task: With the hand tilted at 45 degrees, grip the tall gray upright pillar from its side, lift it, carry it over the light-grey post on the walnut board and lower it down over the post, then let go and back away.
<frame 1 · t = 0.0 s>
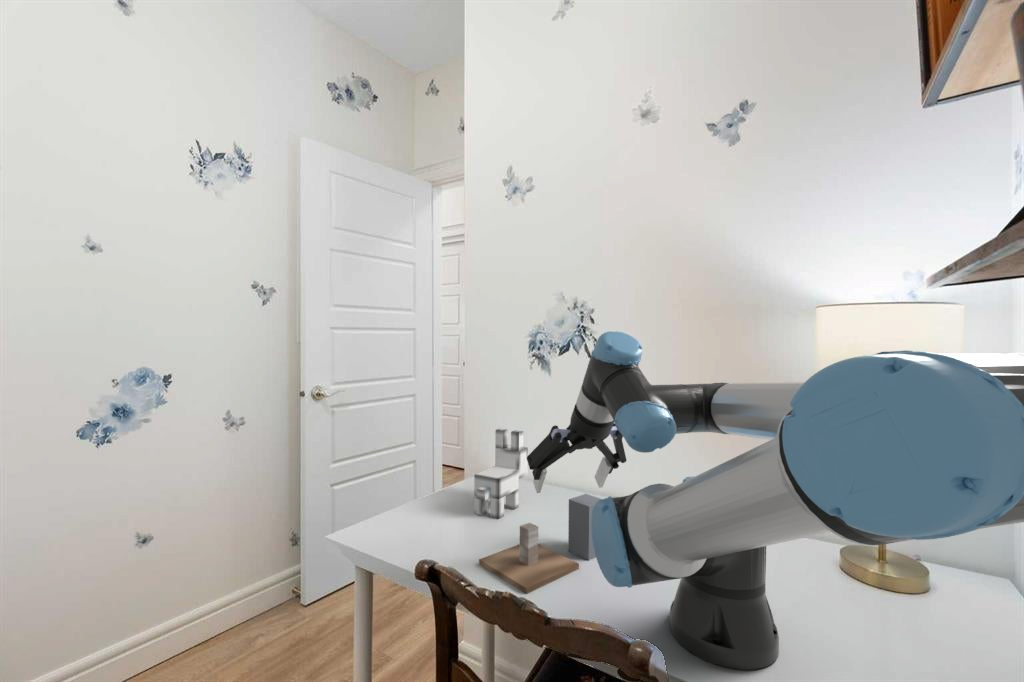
hand: (568, 484, 95), 15 cm above the table, tool tilted 35°, fingers open, 13 cm apart
gray upright pillar: (587, 551, 98), on the table
toy llama: (499, 509, 123), on the table
post: (528, 566, 91), on the table
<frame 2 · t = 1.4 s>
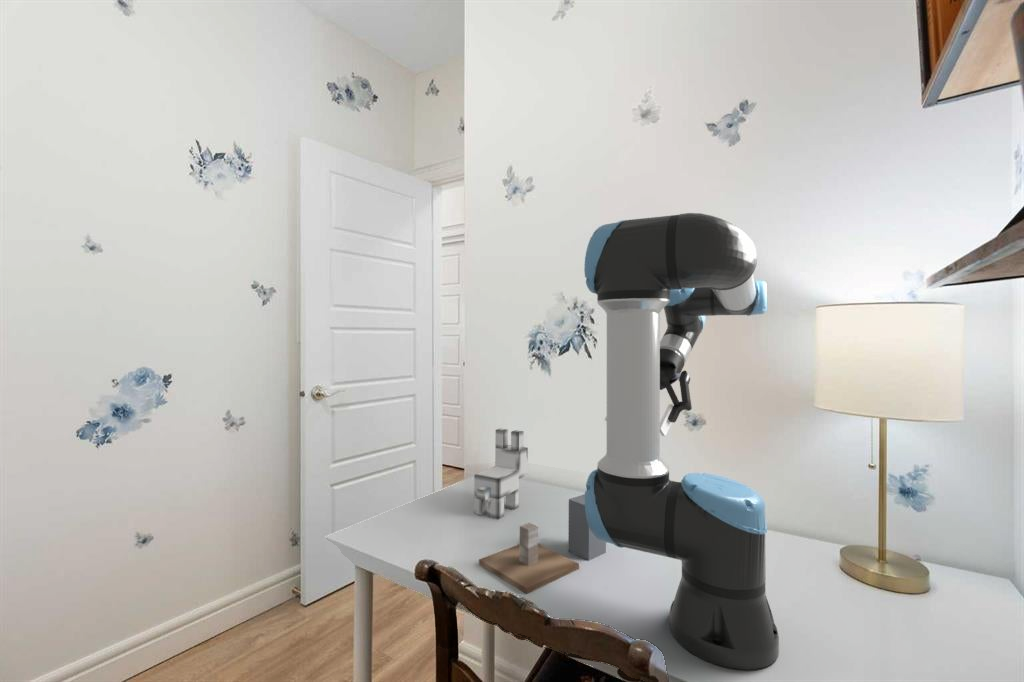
hand: (633, 427, 102), 26 cm above the table, tool tilted 45°, fingers open, 13 cm apart
nothing on the table moved.
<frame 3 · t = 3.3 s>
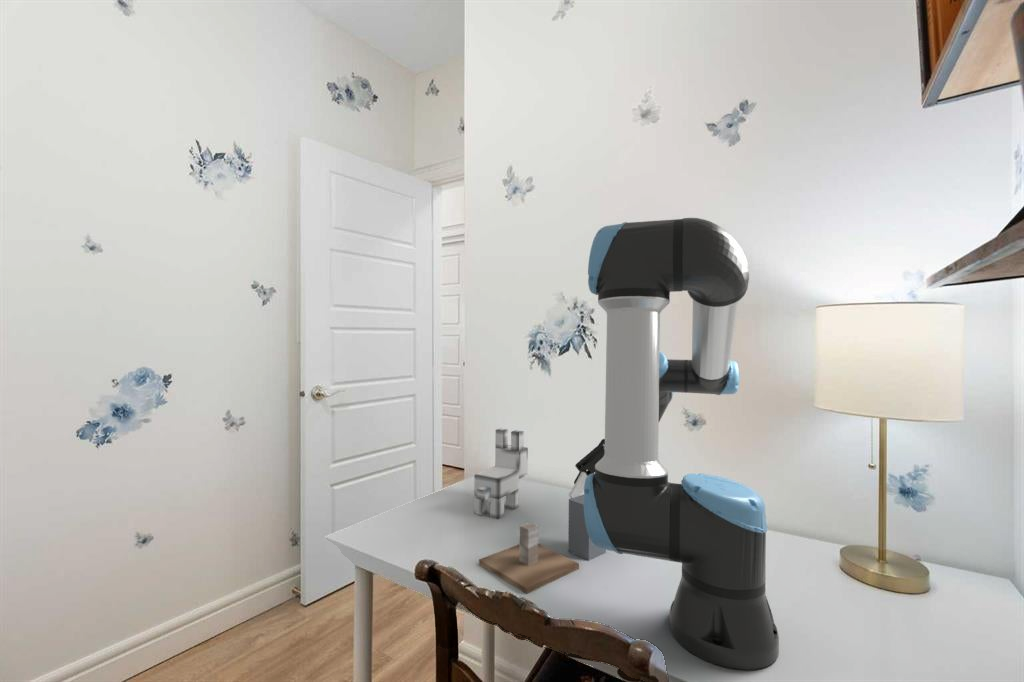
hand: (595, 507, 101), 8 cm above the table, tool tilted 45°, fingers open, 13 cm apart
nothing on the table moved.
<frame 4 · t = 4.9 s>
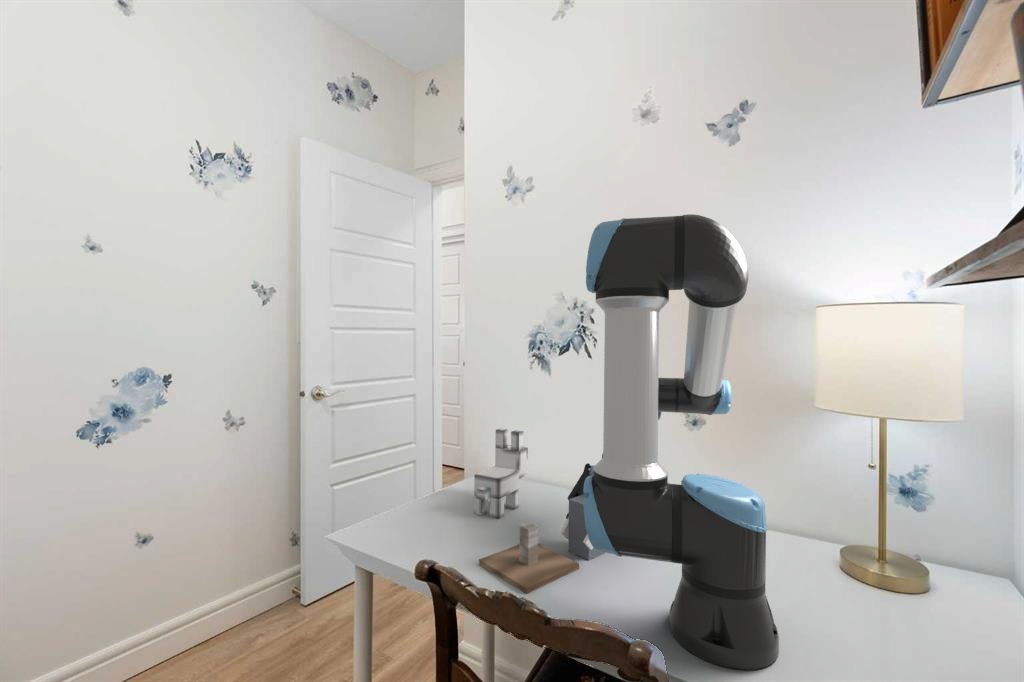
hand: (575, 540, 96), 3 cm above the table, tool tilted 45°, fingers closed on gray upright pillar, 6 cm apart
gray upright pillar: (587, 551, 98), on the table, touching gripper
everything else where it was.
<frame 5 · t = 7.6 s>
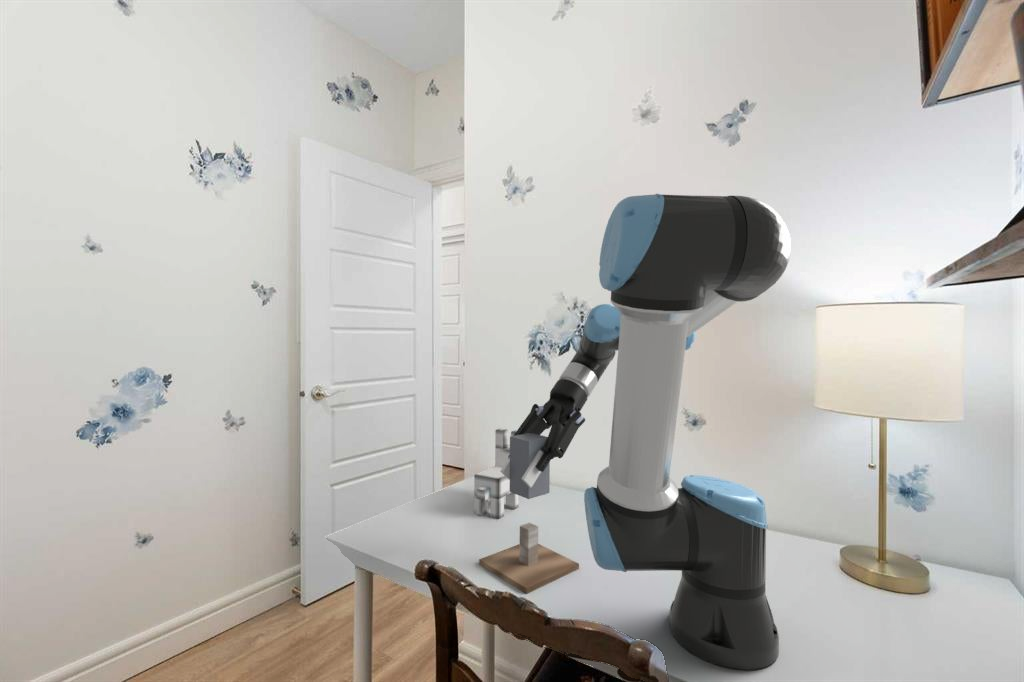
hand: (515, 479, 89), 18 cm above the table, tool tilted 45°, fingers closed on gray upright pillar, 6 cm apart
gray upright pillar: (529, 492, 92), point 15 cm above the table, touching gripper
everything else where it was.
when the fingers open (6 cm above the table, at t = 10.6 s): gray upright pillar drops 1 cm, resting on post.
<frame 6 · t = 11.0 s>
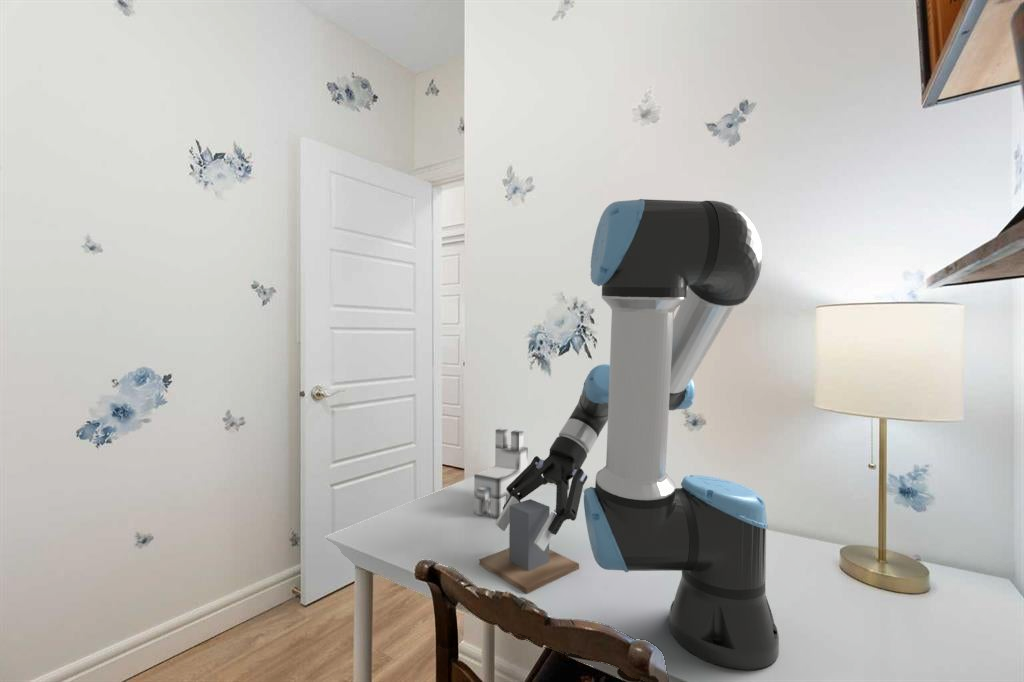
hand: (518, 536, 90), 7 cm above the table, tool tilted 45°, fingers open, 11 cm apart
gray upright pillar: (529, 561, 91), point 1 cm above the table, touching post
everything else where it was.
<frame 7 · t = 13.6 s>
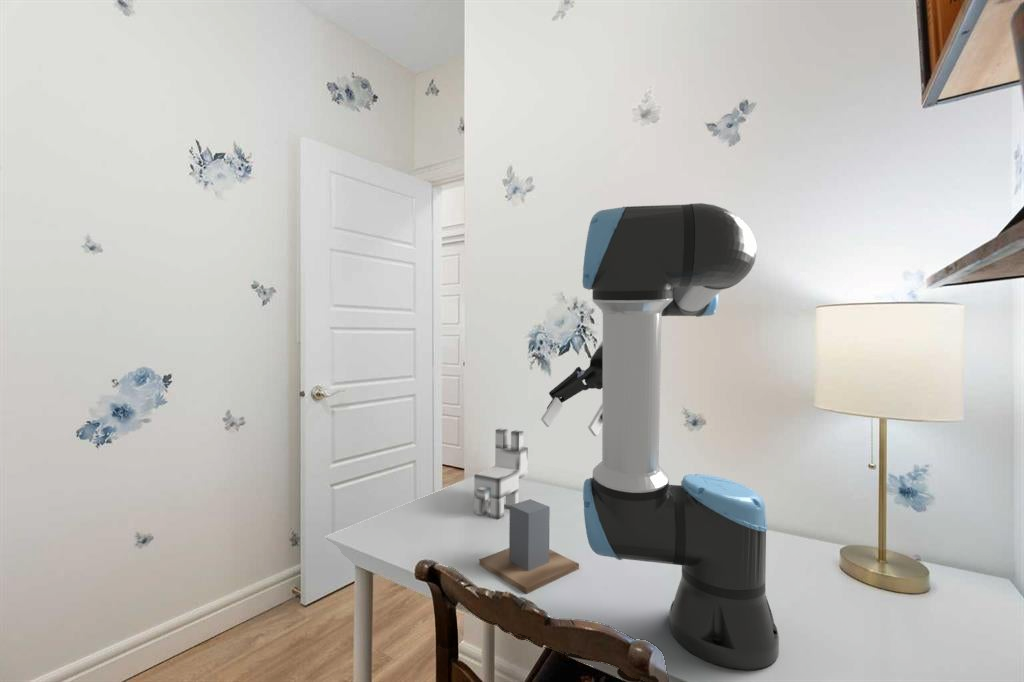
hand: (567, 427, 99), 26 cm above the table, tool tilted 45°, fingers open, 13 cm apart
nothing on the table moved.
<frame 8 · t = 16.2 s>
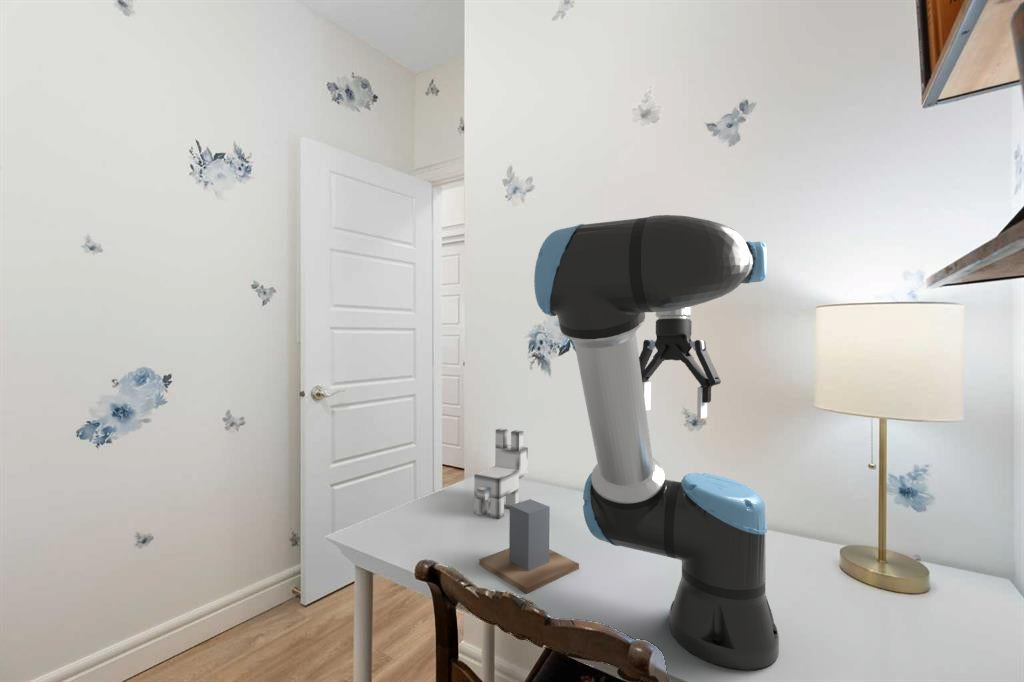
hand: (672, 414, 102), 29 cm above the table, tool pointing down, fingers open, 13 cm apart
nothing on the table moved.
at the end: gray upright pillar 0.1 cm from the post (horizontally); gray upright pillar point 1.0 cm above the table; gray upright pillar tilted 0° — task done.
